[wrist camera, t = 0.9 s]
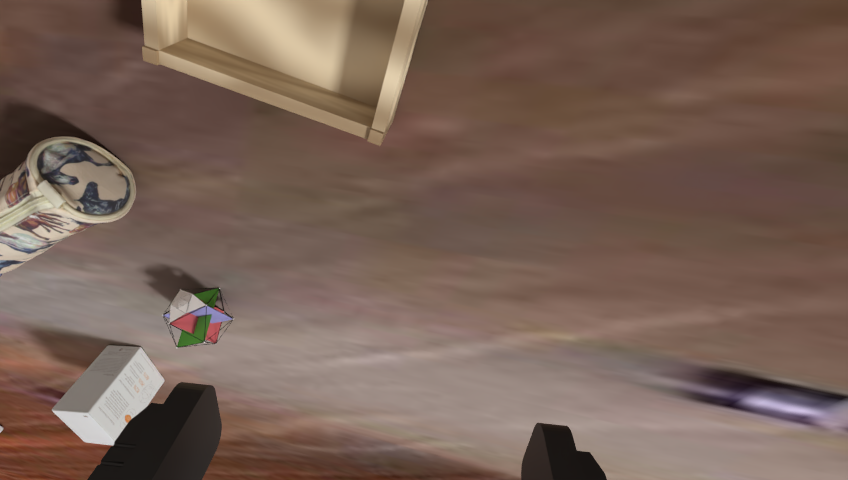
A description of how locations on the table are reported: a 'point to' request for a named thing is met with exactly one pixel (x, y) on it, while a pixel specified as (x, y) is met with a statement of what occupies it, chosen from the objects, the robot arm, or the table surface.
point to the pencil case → (59, 196)
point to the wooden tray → (294, 53)
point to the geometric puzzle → (196, 317)
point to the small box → (109, 394)
